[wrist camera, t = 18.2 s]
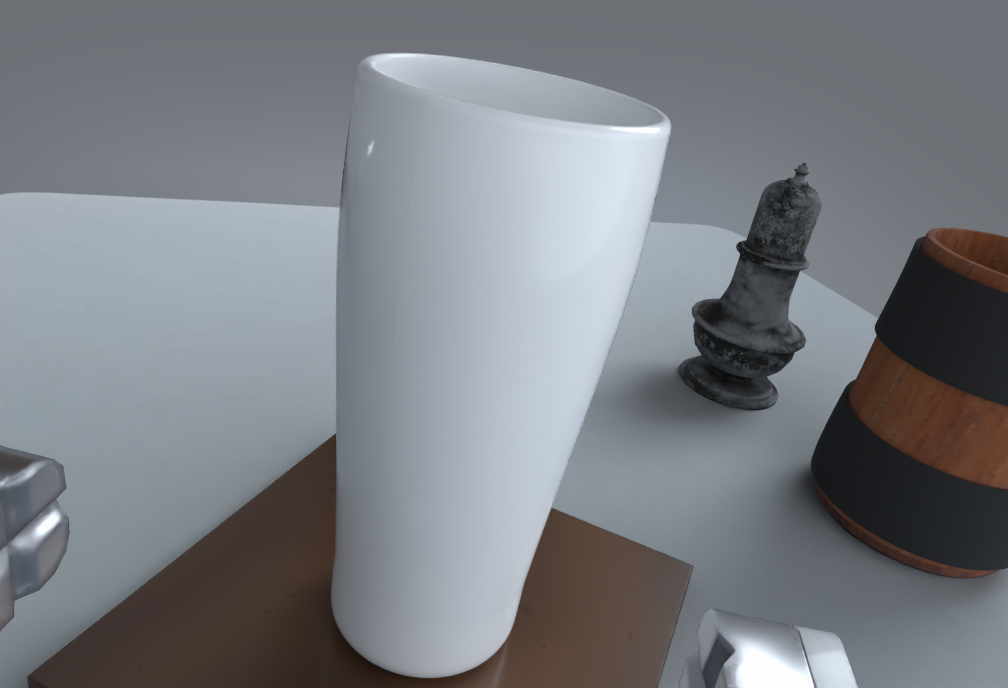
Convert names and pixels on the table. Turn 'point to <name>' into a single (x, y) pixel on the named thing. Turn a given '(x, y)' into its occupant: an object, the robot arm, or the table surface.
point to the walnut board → (312, 627)
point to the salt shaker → (756, 303)
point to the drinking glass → (471, 335)
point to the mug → (929, 415)
